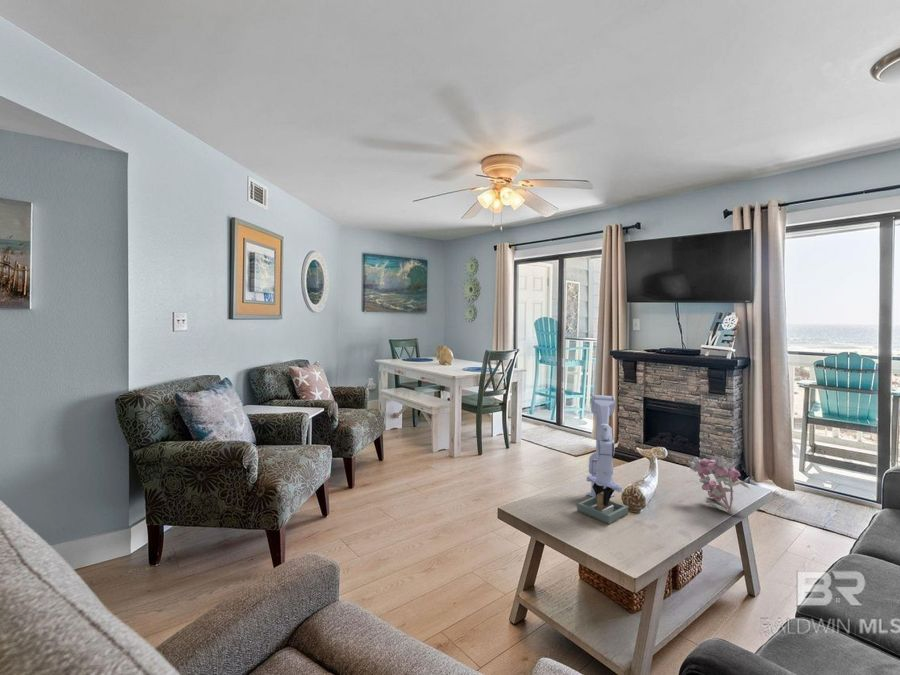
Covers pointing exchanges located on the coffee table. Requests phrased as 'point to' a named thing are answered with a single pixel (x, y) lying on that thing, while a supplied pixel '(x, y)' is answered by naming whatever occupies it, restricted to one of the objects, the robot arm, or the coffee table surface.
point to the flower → (717, 478)
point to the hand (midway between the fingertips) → (602, 503)
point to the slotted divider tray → (605, 515)
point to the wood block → (601, 502)
